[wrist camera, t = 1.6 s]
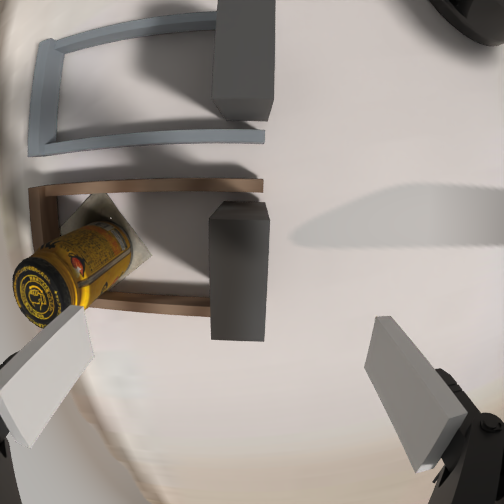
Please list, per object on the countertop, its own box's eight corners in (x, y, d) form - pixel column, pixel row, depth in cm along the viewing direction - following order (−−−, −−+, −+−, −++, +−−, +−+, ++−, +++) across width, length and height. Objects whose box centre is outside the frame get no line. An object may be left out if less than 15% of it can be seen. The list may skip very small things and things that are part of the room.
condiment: (105, 293, 30) (44, 354, 18) (58, 229, 28) (-19, 264, 16) (153, 254, 28) (96, 310, 17) (102, 184, 27) (21, 202, 15)
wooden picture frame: (265, 178, 26) (271, 185, 17) (260, 309, 29) (262, 365, 21) (45, 185, 26) (-14, 196, 17) (58, 294, 29) (11, 332, 21)
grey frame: (269, 20, 22) (275, -32, 13) (266, 144, 25) (273, 133, 16) (55, 49, 22) (3, 26, 13) (45, 156, 25) (-15, 159, 16)
